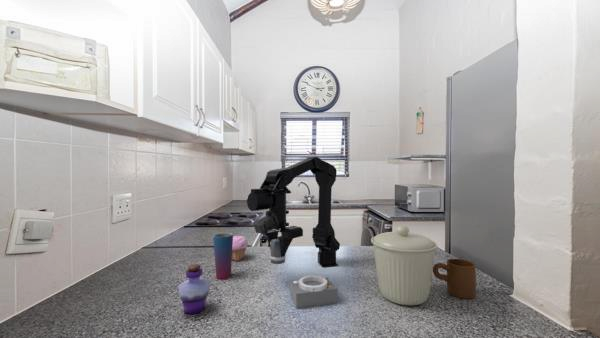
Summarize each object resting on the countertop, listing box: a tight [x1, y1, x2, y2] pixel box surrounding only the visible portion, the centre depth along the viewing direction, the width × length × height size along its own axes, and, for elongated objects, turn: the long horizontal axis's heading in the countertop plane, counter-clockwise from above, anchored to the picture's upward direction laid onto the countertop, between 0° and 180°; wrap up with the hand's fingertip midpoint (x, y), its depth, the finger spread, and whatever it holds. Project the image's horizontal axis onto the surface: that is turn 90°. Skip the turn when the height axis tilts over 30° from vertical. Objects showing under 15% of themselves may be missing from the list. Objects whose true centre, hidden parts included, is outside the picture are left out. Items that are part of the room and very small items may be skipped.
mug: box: [432, 258, 477, 300], centre depth 81 cm, size 12×8×9 cm, turn 85°
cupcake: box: [232, 235, 248, 262], centre depth 114 cm, size 9×9×10 cm
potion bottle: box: [177, 263, 211, 316], centre depth 73 cm, size 9×9×12 cm
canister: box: [370, 225, 438, 306], centre depth 79 cm, size 18×18×21 cm
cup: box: [212, 232, 234, 281], centre depth 95 cm, size 7×7×15 cm
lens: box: [269, 238, 286, 265], centre depth 88 cm, size 5×5×7 cm
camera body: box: [289, 275, 338, 310], centre depth 78 cm, size 12×8×5 cm
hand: (277, 254), depth 88 cm, fingers closed on lens, 5 cm apart
